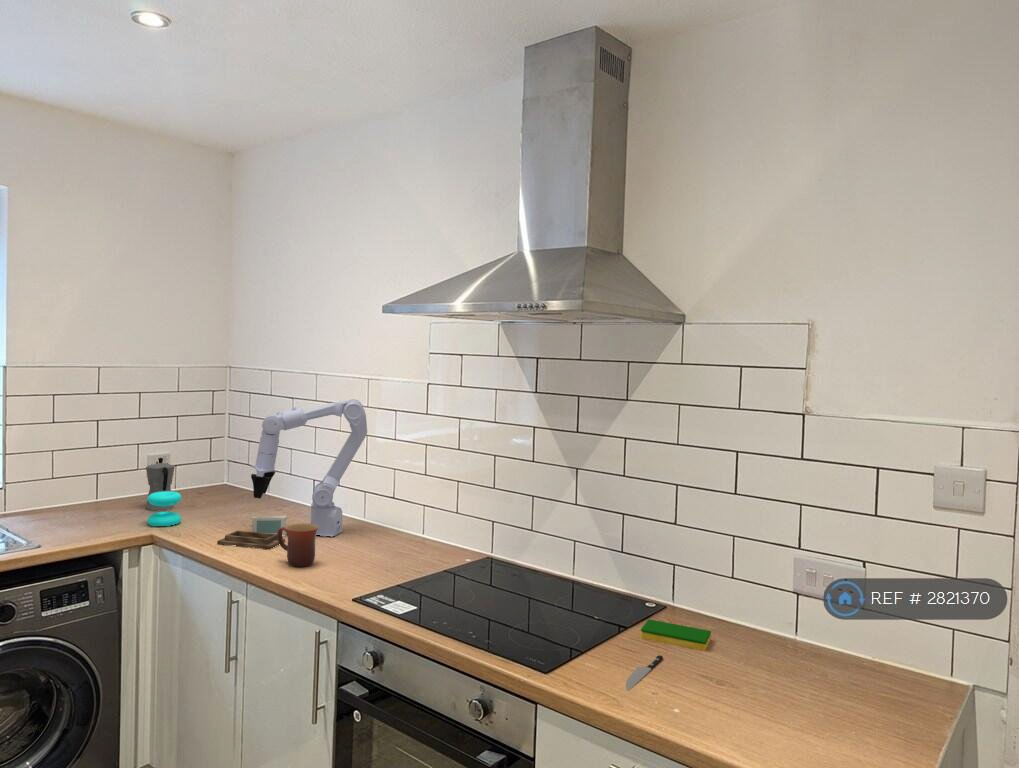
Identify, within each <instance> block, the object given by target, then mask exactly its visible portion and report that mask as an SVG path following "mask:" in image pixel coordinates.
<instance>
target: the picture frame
mask: <svg viewBox="0 0 1019 768" xmlns="http://www.w3.org/2000/svg"><path fill="white" fill-rule="evenodd" d="M286 526H287V515H253V516H252V519H251V532H259V533H269V534H277V533H278V530H279V529H280V528H282V527H286ZM282 535H286V536H287V533H286V531H284V530H283V531H282Z"/></svg>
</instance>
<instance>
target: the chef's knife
mask: <svg viewBox="0 0 1019 768" xmlns="http://www.w3.org/2000/svg"><path fill="white" fill-rule="evenodd" d="M663 658H664V656H663V655H661V654H660V655H657V656H656V657H655V659H654V660H653V661H652V662H651V663H650V664H649V665H648V666H636V668H635V670H633V672H632V673H630V675H629V676H628V677H627V678H626V681H625V688H626V691H630V690H631V689H633V688H634V687H635V686H637V684H639V682H641V681H642V680H643V679H644V678H645V677H646V676H647V675H648V674H650V672H652V671H653V669H654V668H655V667H656V666H657V665H659V663H661V662H662V660H663Z"/></svg>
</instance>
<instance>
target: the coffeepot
mask: <svg viewBox="0 0 1019 768" xmlns="http://www.w3.org/2000/svg"><path fill="white" fill-rule="evenodd" d="M175 467H176V465H174V464H170V463H166V462H164V458H163V457H158V462H157V463H153V464H148V465H147V466H145V469H146V476H147V477H146V478H147V483H148V486H149V490H148V493H147V497H148V496H149V495H150V494H152V493H156V492H165V491H171V492H173V491H172V489H171V485H172V483H173V478H174V473H175ZM173 508H175V505H171V506H154V505H152V504H150V503H149V502H148V498H147V499H146V505H145V509H146V510H147V511H150V510H152V512H159V511H158V510H165V511H168V510H167V509H170V510H172V509H173Z"/></svg>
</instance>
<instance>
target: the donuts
mask: <svg viewBox="0 0 1019 768" xmlns="http://www.w3.org/2000/svg"><path fill="white" fill-rule="evenodd" d="M171 491H172V490H171ZM171 491H165V492H156V493H152V494H150V495H149V496H148V495H147V499H148V502H149V503H150V504H152V505H154V506H171V505H174V506H175V505H178V503H180V502H181V500H182V495H181V494H180V492H177V491H172V492H171ZM181 521H182V516H181V515H180V514H179V513H177V512H175V511H170V510H165V511H156V512H155V513H152V514H150V515H149V516H148V517H147V524H148V525H149V526H152V527H155V526H167V527H172V526H171V525H173V526H176V525H178V524H179V523H180V522H181ZM175 524H176V525H175Z"/></svg>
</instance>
